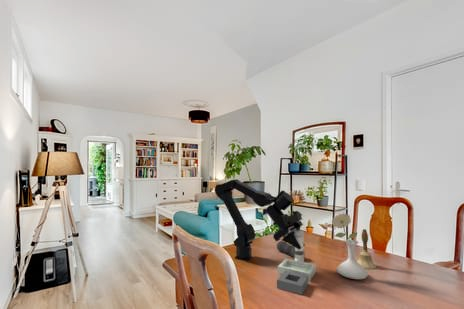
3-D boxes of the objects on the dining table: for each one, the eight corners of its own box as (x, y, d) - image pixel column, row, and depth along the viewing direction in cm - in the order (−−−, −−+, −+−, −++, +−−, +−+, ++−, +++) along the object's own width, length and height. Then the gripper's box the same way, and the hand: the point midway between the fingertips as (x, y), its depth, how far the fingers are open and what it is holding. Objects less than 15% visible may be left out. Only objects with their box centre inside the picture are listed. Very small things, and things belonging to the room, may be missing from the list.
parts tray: (277, 273, 102) (277, 266, 102) (285, 265, 110) (285, 258, 110) (309, 281, 95) (309, 273, 95) (315, 272, 103) (315, 264, 104)
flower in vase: (365, 272, 104) (364, 212, 105) (370, 284, 93) (369, 217, 94) (331, 267, 108) (330, 210, 109) (333, 279, 97) (332, 215, 98)
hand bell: (367, 270, 105) (366, 232, 106) (351, 263, 113) (350, 228, 114) (380, 267, 108) (380, 230, 109) (364, 260, 116) (363, 226, 117)
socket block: (276, 288, 90) (276, 279, 90) (285, 278, 97) (285, 270, 98) (301, 294, 85) (301, 286, 85) (308, 284, 93) (308, 276, 93)
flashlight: (275, 251, 129) (275, 240, 129) (283, 249, 131) (283, 239, 132) (296, 261, 115) (296, 249, 116) (305, 259, 118) (305, 247, 118)
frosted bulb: (294, 264, 101) (294, 232, 101) (294, 260, 105) (294, 229, 105) (304, 265, 100) (304, 232, 101) (303, 261, 104) (303, 230, 104)
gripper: (280, 208, 98) (307, 241, 91) (298, 202, 113) (323, 231, 106) (263, 225, 103) (287, 258, 96) (282, 217, 118) (305, 245, 110)
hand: (302, 247), depth 102 cm, fingers closed on frosted bulb, 3 cm apart
